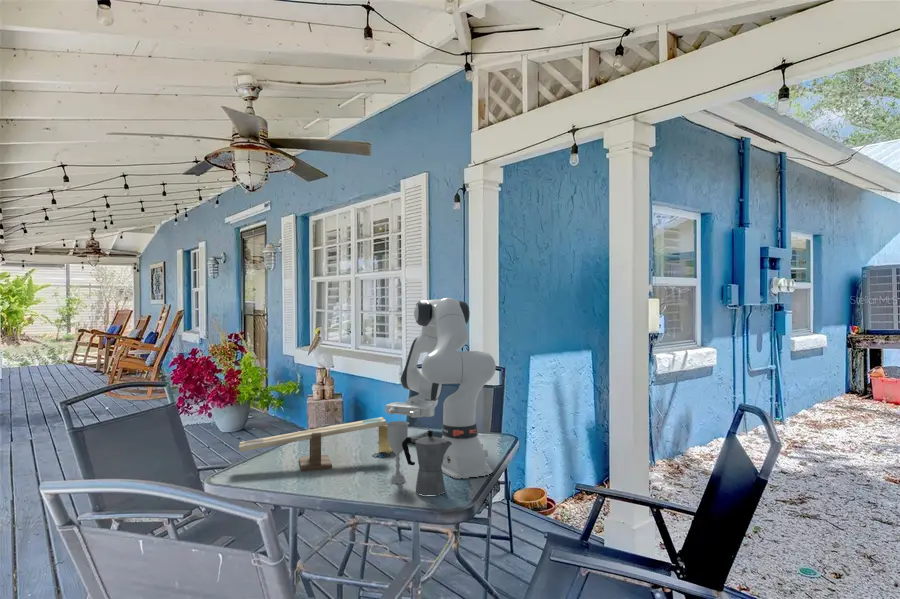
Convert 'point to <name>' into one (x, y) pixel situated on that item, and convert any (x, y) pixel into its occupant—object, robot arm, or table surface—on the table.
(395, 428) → the chalice
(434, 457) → the coffeepot
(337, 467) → the table surface
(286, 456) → the table surface
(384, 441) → the tall olive textured block
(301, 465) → the beam stand
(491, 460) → the table surface
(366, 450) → the table surface
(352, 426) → the balance beam
